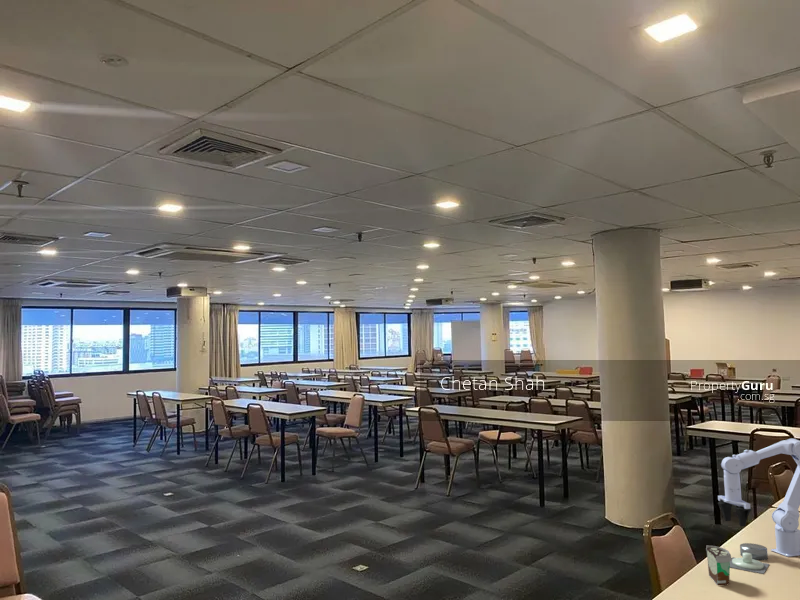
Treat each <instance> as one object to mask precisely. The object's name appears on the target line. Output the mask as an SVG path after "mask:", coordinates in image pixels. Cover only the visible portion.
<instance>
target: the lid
mask: <svg viewBox="0 0 800 600" xmlns="http://www.w3.org/2000/svg"><path fill="white" fill-rule="evenodd" d="M742 555H743V557H734V559H732V564H733V565H735V566H737V567H739V568H743V569H749V570H761V569H763V568H764V564H763V563H764V562H762V561H761V560H754V559H752V554H751V553H745V552H744V553H742Z"/></svg>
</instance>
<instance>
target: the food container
mask: <svg viewBox="0 0 800 600" xmlns="http://www.w3.org/2000/svg"><path fill="white" fill-rule="evenodd" d="M705 551H706V558H707V559H706V560H707V570H708V576H709V578H710V579H711V580H712V579H713V580H714V581H713V580H712V581H713V582H714V583H715V584H716V586H717V585H724V586H728V585H730V580H731V579H730V574H731V573H730V571H731V570H730V569H731V568H730V561H731V560H732V555H731V553H730V551H729V550H727V549H726V548H722V547H720V546H716V545H706V548H705ZM727 584H728V585H727Z"/></svg>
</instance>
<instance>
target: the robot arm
mask: <svg viewBox="0 0 800 600" xmlns="http://www.w3.org/2000/svg"><path fill="white" fill-rule="evenodd" d="M780 454H784V455H788V456H789V455H790V456H791V457H792V459H793V460H794V462H795V463H796V465H797V466H796V468H795V471H794V474H793V476H792V478H791V481H790V484H789V486H788V489H787V491H786V493H785V496H784V498H783V500H782V502H781V503H779V504H778V506H777V508H776V509H775V510H774V511H772V513H771V520H772V521H773V523H775V526H774V530H775V531H774V535H775V545H776V546H775V547H776V548H771V549H770V551H771V552H774V553H777V554H780V555H782V556H784V557H788V558H790V557H798V556H800V529H799V525H800V524H799V518H800V512H799V508H800V440H799V439H797V438H792V437H791V438H788V439H785V440H784V439H783V440H780V441H778V442H775V443H773V444H771V445H769V446H767V447H764V448H761V449H759V450H757V451H755V450H752V449H745V450H743V452H740V453H739V454H738V453H737V454H732V456H727V457H726V456H725V457H724V458H723V459H722V460H721V463H720V466H721V468H722V469H723V485H724V495H717V500H718V502H717V506H718V507H719V509H720V510H721V513H722V516H723V519H724V520H725V521H724V522H729V521H731V520H732V519H731V518H732V517H731V515H732V506H737V507H734V508H735V511H736V515H737V518H738V524H739V526H740V527H746V524H747V520H748V518H749V515H750V513H751V511H752V508H751V503H749V502H747V501H745V500H743V499H742V488H741V474H740V473H741V471H742V470H745V469H747V468H751V467H753V466H756V465H759V464H760V461H761V460H763V459H766V458H770V457H773V456H776V455H780Z"/></svg>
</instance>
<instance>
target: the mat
mask: <svg viewBox="0 0 800 600" xmlns="http://www.w3.org/2000/svg"><path fill="white" fill-rule="evenodd" d="M731 558H732V559H734V558H735V557H734V556H731ZM762 563H763V564H764V568H763V569H761V570H749V569H743V568H739V567H737V566H735V565H733V564H732V560H731V561H730V569H735V570H740V571H744V572H745V571H746V572H751V573H755V574H761V575H765V572H766V571H767V570H768V568H769V566H770V563H766V562H762Z"/></svg>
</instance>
